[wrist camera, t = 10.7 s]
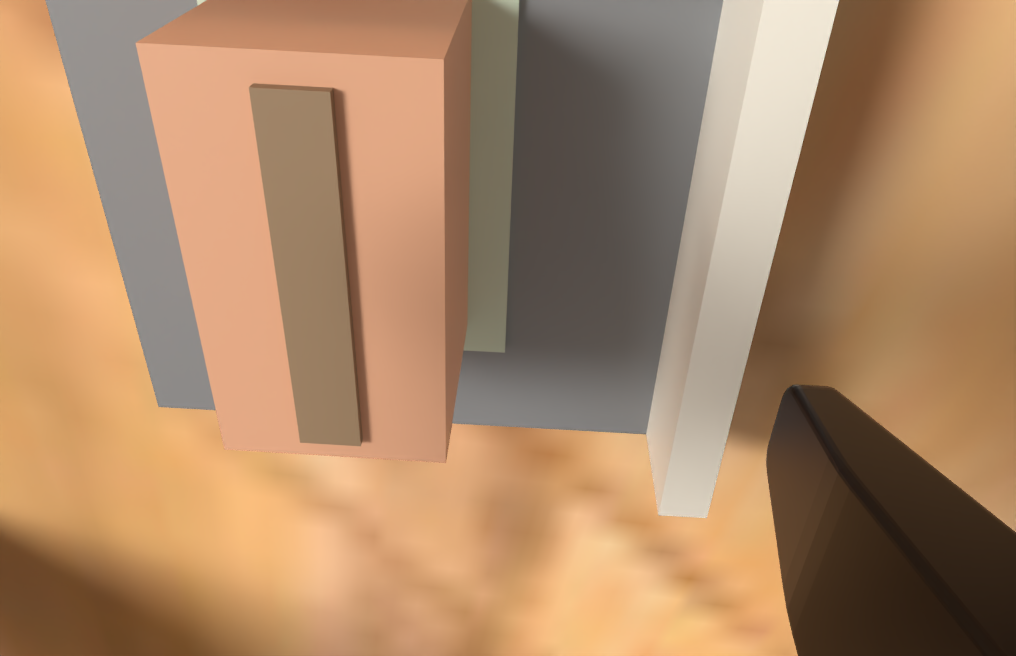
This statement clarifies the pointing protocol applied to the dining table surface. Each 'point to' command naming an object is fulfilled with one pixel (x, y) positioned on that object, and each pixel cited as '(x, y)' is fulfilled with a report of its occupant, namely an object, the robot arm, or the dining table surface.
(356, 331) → the terracotta block
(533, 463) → the dining table surface
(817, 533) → the robot arm
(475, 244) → the tray
